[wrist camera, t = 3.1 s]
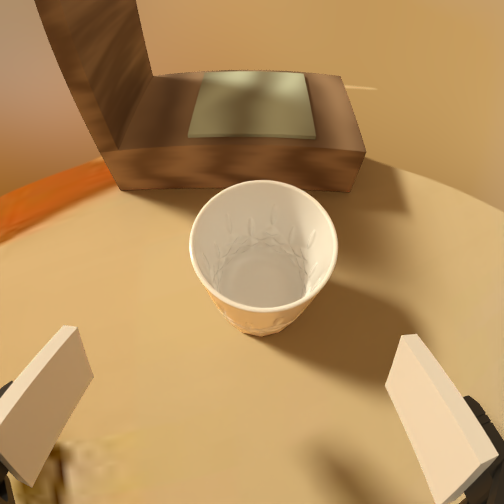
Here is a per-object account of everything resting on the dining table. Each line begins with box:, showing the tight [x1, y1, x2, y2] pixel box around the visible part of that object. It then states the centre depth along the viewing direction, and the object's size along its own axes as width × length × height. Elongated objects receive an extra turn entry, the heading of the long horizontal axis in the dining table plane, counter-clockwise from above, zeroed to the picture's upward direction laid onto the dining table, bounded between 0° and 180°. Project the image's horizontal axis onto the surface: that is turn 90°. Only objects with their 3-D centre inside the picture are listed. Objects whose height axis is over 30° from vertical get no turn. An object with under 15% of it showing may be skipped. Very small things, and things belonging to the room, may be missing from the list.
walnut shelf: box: [34, 0, 366, 192], centre depth 22 cm, size 24×13×24 cm, turn 89°
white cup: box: [189, 180, 338, 336], centre depth 20 cm, size 8×8×10 cm
